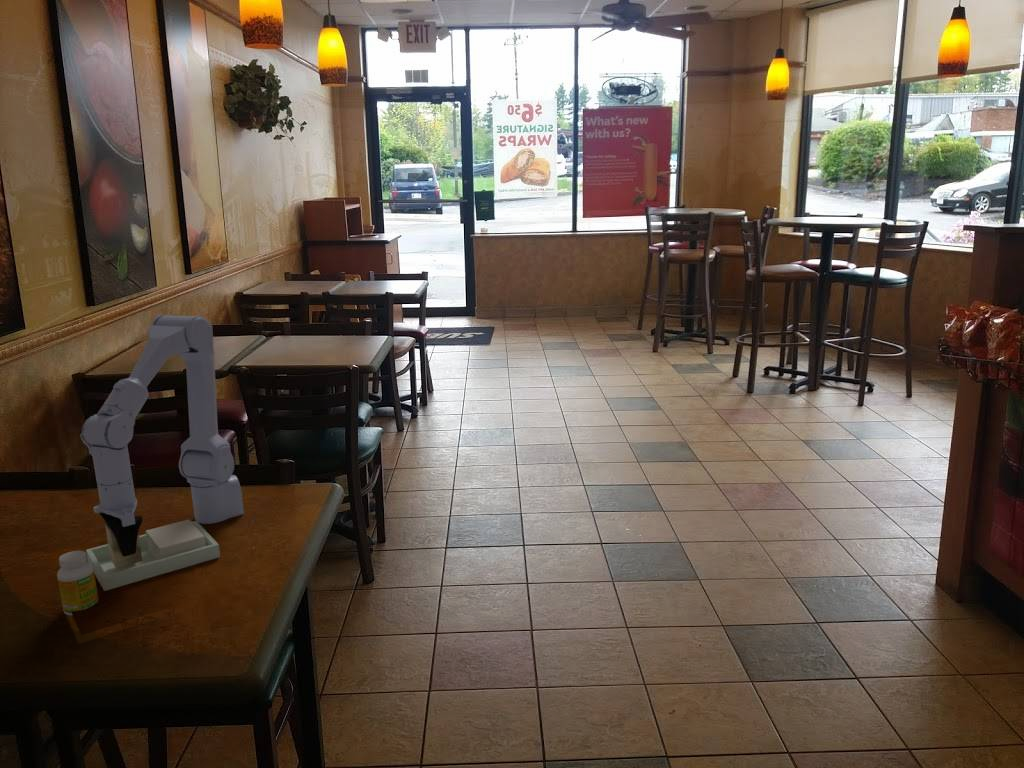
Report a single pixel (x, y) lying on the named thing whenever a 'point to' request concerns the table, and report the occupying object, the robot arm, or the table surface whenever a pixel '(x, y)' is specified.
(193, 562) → the pale green tray
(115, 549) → the maple block
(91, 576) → the supplement bottle
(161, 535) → the light gray block
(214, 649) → the table surface
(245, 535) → the table surface
